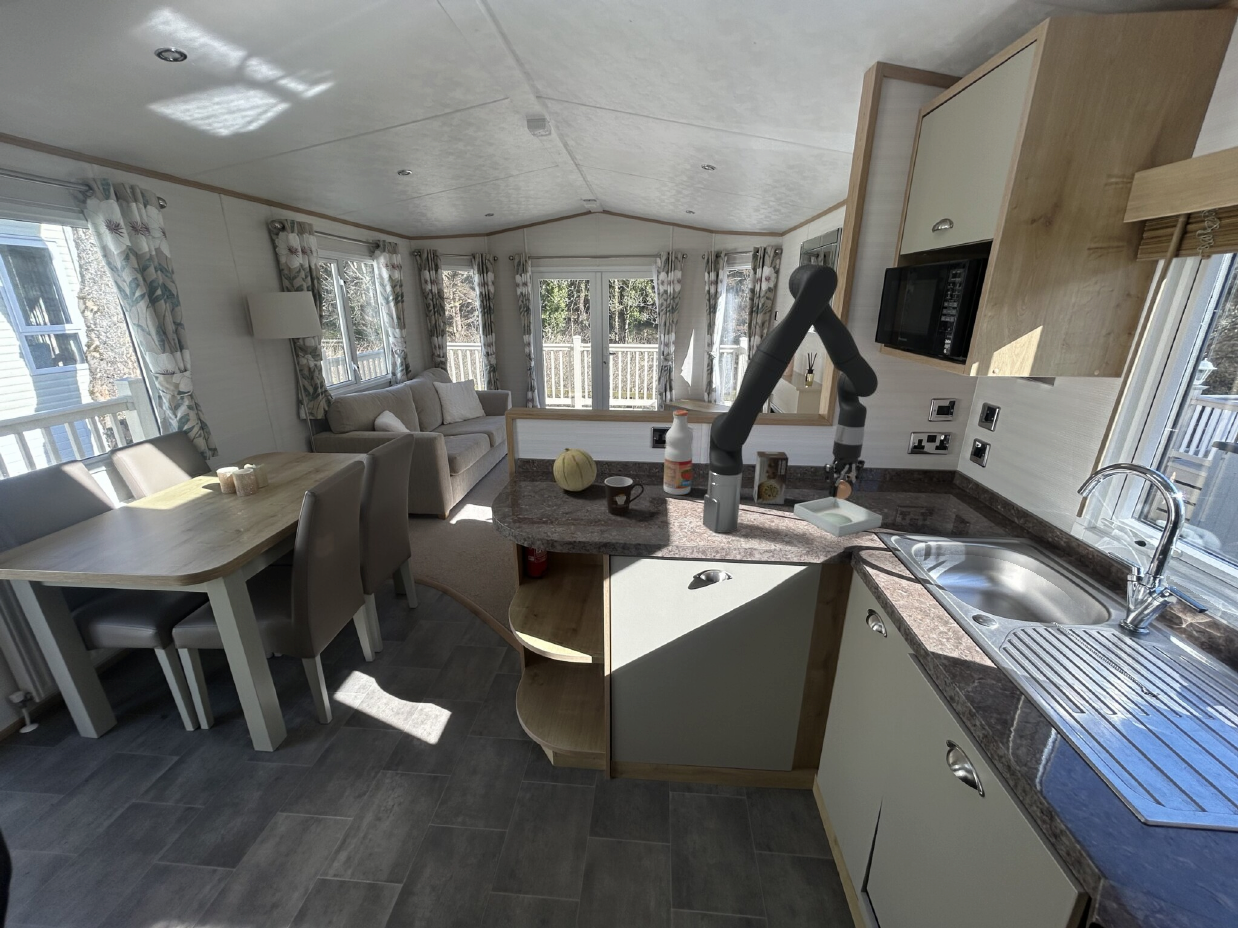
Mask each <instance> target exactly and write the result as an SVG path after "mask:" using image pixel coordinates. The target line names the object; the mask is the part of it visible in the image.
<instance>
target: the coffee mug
mask: <svg viewBox="0 0 1238 928" xmlns="http://www.w3.org/2000/svg"><path fill="white" fill-rule="evenodd" d="M604 486H605V487H604V488H605V497H606V504H607V513H609V514H610V515H612V516H625V515H627V514H628V513H629V510H630V504H631V503H632V502H633V501H635V500H636V499H638V498H639V497H641V495H643V493H644V491H645V489H644V485H643V484H641V483H635V484H633V479H632V478H630V477H626V476H612V477H608V478H606V479H605V480H604ZM637 486H638V487H641V491H640V493H639V494H638V495H635V496H634V497H632V499H631V496H632V491H633V489H634V488H635V487H637Z"/></svg>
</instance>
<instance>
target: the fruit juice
mask: <svg viewBox="0 0 1238 928" xmlns="http://www.w3.org/2000/svg"><path fill="white" fill-rule="evenodd" d="M672 412H673V413H672V416H673V422H672V424H671V426H670V428H669V430H668V431H667V432H666V434H665V441H666V447H665V449H664V464H663V465H664V467H663V469H664V470H663V491H665V492H666V493H668V494H670V495H674V496H676V495H677V496H682V495H686V494H688V493H690V492H691V489H692V471H693V469H692V468H693V457H694V456H693V455H694V454H693V453H694V452H693V448H692V445H693V441H694V434H693V432H692V431H691V430H690V428H689V424H688V416H689V412H688V411H687V410H684V409H677V410H673V411H672Z"/></svg>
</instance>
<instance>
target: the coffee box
mask: <svg viewBox="0 0 1238 928" xmlns="http://www.w3.org/2000/svg"><path fill="white" fill-rule="evenodd" d="M788 465H789V456H788V454H787V453H786V452H785V451H759V450H757V451H756V462H755V472H754V483H753V485H754V486H753V494H752V496H753V500H754V503H756V504H764V505H766V504H767V505H770V504H773V505H774V504H775V505H784V504H785V496H786V488H787V487H786V486H787V478H788V477H787V476H788V467H789V466H788Z"/></svg>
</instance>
